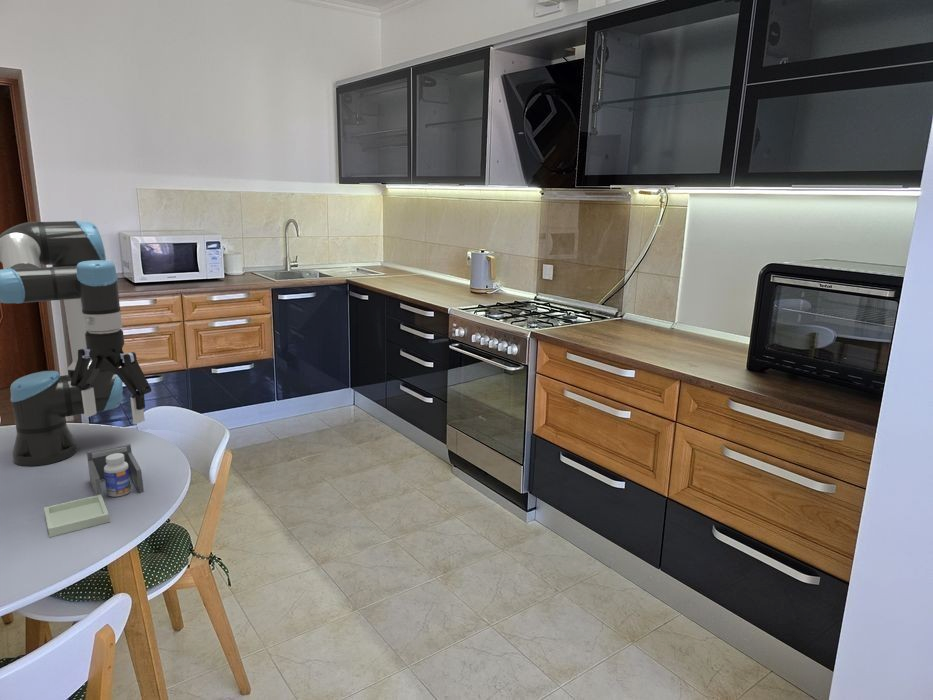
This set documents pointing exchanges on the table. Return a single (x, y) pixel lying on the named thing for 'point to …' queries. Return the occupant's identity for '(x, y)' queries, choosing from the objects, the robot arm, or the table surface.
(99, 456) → the bay
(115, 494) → the pill bottle
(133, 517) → the table surface
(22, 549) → the table surface
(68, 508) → the tray
